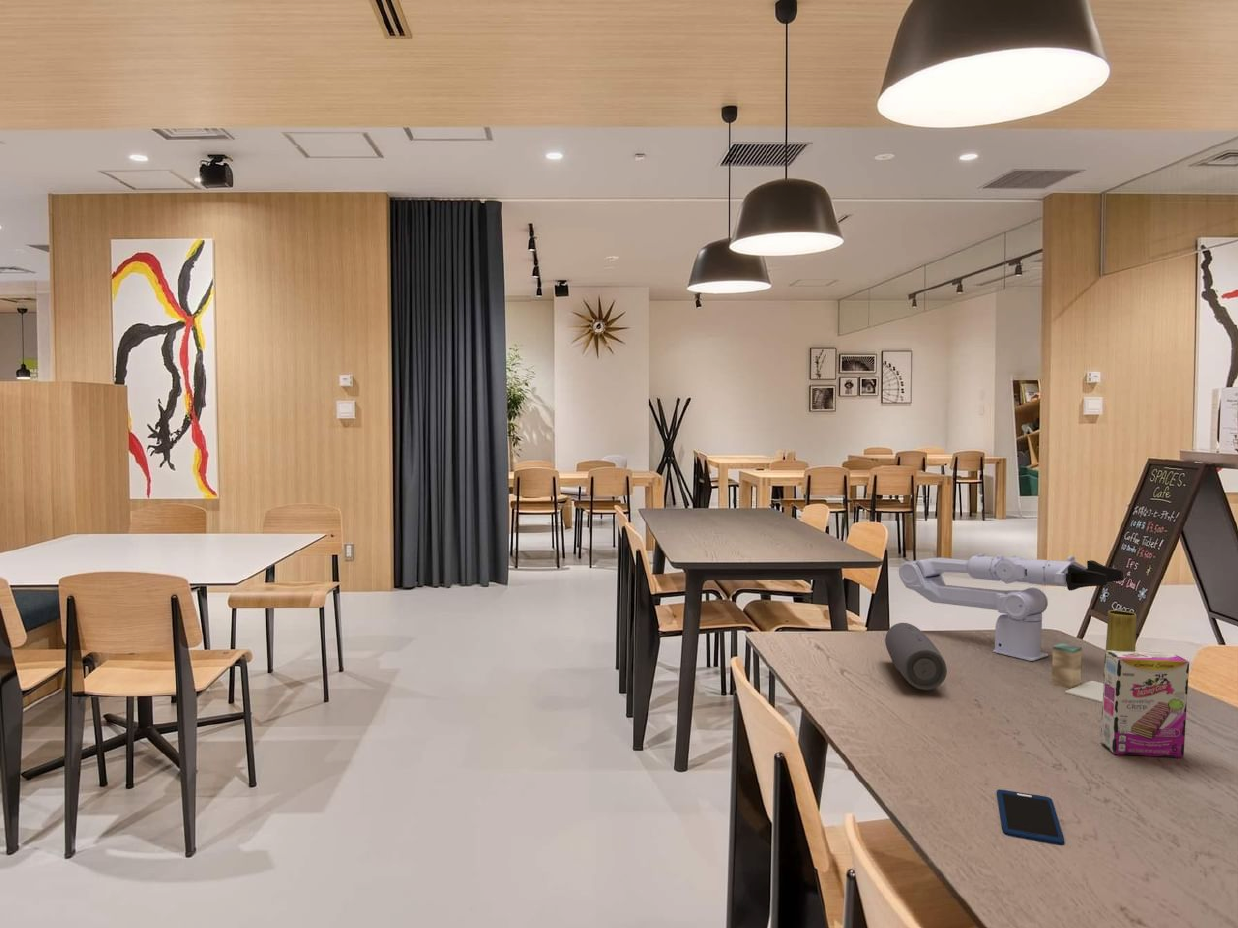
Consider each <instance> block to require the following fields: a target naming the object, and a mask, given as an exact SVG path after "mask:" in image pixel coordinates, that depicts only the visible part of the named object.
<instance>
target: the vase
mask: <svg viewBox="0 0 1238 928" xmlns="http://www.w3.org/2000/svg"><path fill="white" fill-rule="evenodd" d="M1106 625H1107V627H1106V628H1107V630H1106V638H1105V639H1106V641H1105V651H1131V652H1137V651H1136V641H1137V640H1136V636H1137V635H1136V634H1137V633H1136V632H1137V614H1136V612H1133V611H1127V610H1119V609H1112V610H1111V609H1110V610H1108V611H1107V624H1106ZM1103 665H1104V668H1103V670H1104V669H1105V664H1103ZM1102 675H1103V676H1104V671H1103V673H1102Z"/></svg>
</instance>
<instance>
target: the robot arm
mask: <svg viewBox="0 0 1238 928" xmlns="http://www.w3.org/2000/svg"><path fill="white" fill-rule="evenodd" d="M1086 563H1087V564H1086V566H1084V565H1083V564H1080V563H1079V562H1077V561H1076V558H1075V556H1071V555H1070V556H1067V561H1066V560H1054V559H1053V560H1052V559H1037V558H1036V559H1035V558H1030V559H1027V558H1023V557H1020V556H1016V555H1013V556H1010V557H1004V555H1002V554H998V555H997V556H986V555H985V553H977V554H976V555H973V556H971V558H969V559H968V560H967V559H958V558H948V557H931V558H930V557H929V558H927V557H926V558H922V559H918V560H917V559H916V560H911V561H909V560H908V561H904V562H902V563H901V564H900V566H899V569H898V575H899V578H900V580H901V581H902V583H903V584H904V586H905V588H907V589H909V590H912V591H915V592H916V593H918V594H919V596H921V597H924V599H926V600H928V601H929V602H931V603H935V604H941V605H942V604H943V605H952V606H959V607H968V608H969V607H970V608H978V609H986V610H995V611H997V612H998V613H999V614H1000V615H999V616H998V618H997V619H996V623H995V629H994V630H995V631H994V633H995V634H994V635H995V636H994V649H993V650H992V652H993V653H997V654H1001V655H1005V656H1009V657H1013V658H1017V659H1021V660H1025V661H1029V662H1034V661H1036V660H1040V659H1042V658H1046V657H1048V656H1049V653H1046V652H1043V651H1042V631H1043V630H1042V627H1043V626H1042V625H1043V624H1042V623H1043V613H1044V612H1045V611H1046V609H1048V605H1049V601H1048V597H1047V595H1046V593H1045V592H1044V591H1042V590H1041V589H1039V588H1037V587H1029V588H1026V589H1023V590H1022V589H1021V590H1019V589H1013V590H1011V589H1008V590H1007V589H1006V590H1003V589H1002V590H1001V589H991V588H984V587H983V588H981V587H971V586H960V585H952V584H946V583H945V580H944V577H943V576H942V574H944V573H953V574H954V573H955V574H960V573H961V574H968V575H969V576H970V577H971V578H972V579H974V580H985V581H987V580H988V581H1001V582H1004V584H1012V583H1014V582H1021V583H1028V584H1033V585H1047V586H1053V587H1054V586H1055V587H1057V586H1058V587H1064V588H1065V587H1066V588H1067V590H1068V591H1075V590H1078V589H1079V588H1086V587H1088V588H1089V587H1101V586H1106V585H1108V583H1112V582H1114V583H1115V582H1122V581H1124V576H1123V575H1124V572H1123V570H1120V569H1117V568H1113V567H1109V566H1106V565H1103V564H1101V563H1099V562H1098V561H1095V560H1091V559H1090V560H1087V562H1086Z"/></svg>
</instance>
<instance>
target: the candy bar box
mask: <svg viewBox="0 0 1238 928" xmlns="http://www.w3.org/2000/svg"><path fill="white" fill-rule="evenodd" d="M1104 665H1105V669H1104V668H1103V672H1104V675H1103V683H1104V686H1103V703H1102V707H1101V708H1102V710H1101V725H1100V727H1101V728H1100V744H1101V745H1102V746H1104V747H1105V748H1106V750H1108V751H1109V752H1110V753H1112V754H1114V755H1127V756H1143V757H1144V756H1145V757H1146V756H1147V757H1165V758H1168V757H1169V758H1184V753H1185V752H1184V751H1185V737H1186V736H1185V735H1186V720H1187V704H1188V702H1187V701H1188V690H1189V689H1188V687H1189V672H1190V661H1189V660H1187V659H1186V658H1183V657H1181V656H1179V655H1177V654H1175V653H1172V652H1170V653H1169V652H1152V651H1150V652H1149V651H1146V652H1144V651H1136V652H1131V651H1106V650H1105V653H1104Z"/></svg>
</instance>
